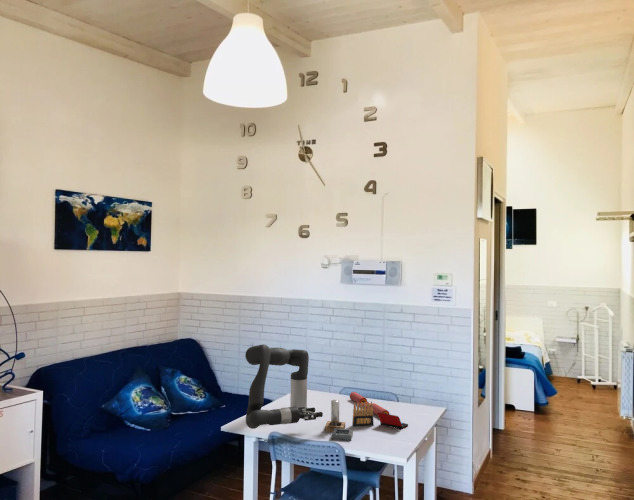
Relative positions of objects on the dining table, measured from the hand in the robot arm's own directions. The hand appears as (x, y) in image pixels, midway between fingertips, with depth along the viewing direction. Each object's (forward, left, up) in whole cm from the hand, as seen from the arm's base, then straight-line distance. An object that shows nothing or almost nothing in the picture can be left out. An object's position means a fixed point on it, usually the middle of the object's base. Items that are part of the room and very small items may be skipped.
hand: (318, 411), depth 264 cm
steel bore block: (+6, +13, -10) cm, 17 cm away
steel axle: (-5, +7, -10) cm, 13 cm away
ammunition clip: (-14, +21, -10) cm, 27 cm away
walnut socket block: (-5, +8, -10) cm, 13 cm away
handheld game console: (-17, +35, -10) cm, 40 cm away
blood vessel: (-47, +21, -10) cm, 52 cm away
